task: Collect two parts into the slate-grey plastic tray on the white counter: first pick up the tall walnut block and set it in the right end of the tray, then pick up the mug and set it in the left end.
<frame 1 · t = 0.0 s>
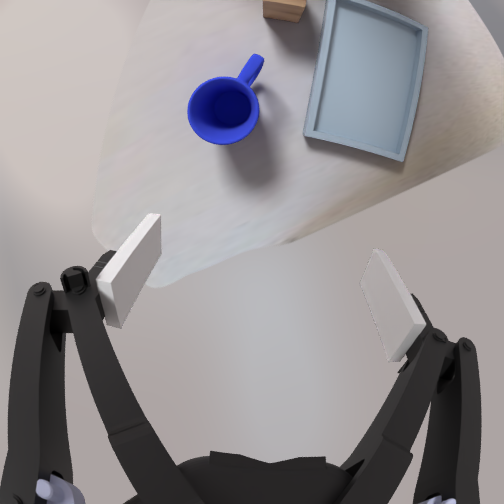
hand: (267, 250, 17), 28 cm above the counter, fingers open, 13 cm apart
walnut block: (283, 6, 28), on the counter
tray: (367, 73, 32), on the counter
mug: (239, 97, 36), on the counter
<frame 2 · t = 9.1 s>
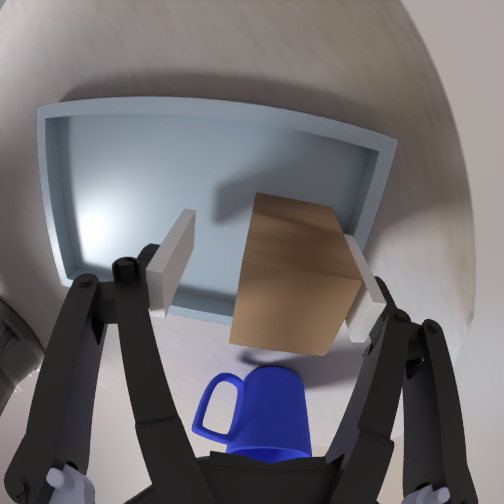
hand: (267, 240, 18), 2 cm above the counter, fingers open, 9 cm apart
walnut block: (286, 233, 19), point 1 cm above the counter, touching tray
tray: (188, 210, 20), on the counter
mug: (258, 372, 29), on the counter
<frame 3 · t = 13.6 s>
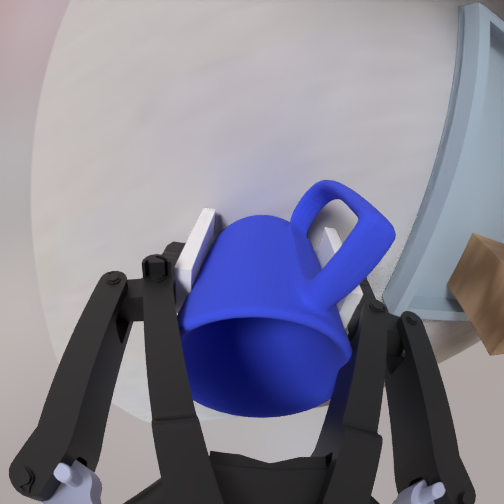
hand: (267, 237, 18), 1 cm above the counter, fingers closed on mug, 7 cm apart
walnut block: (477, 263, 18), point 1 cm above the counter, touching tray
tray: (502, 186, 15), on the counter
mug: (278, 232, 19), on the counter, touching gripper
when the fingers open (3 cm above the counter, at t = 19.0 s): mug drops 1 cm, resting on tray.
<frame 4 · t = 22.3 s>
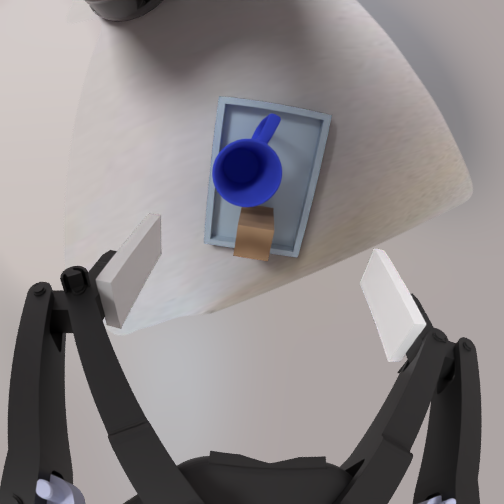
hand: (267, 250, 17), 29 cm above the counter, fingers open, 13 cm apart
walnut block: (255, 219, 46), point 1 cm above the counter, touching tray
tray: (262, 177, 43), on the counter
mug: (246, 154, 40), point 1 cm above the counter, touching tray
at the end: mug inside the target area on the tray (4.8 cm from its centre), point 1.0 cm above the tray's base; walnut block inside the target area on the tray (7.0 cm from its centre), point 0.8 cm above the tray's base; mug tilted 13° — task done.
